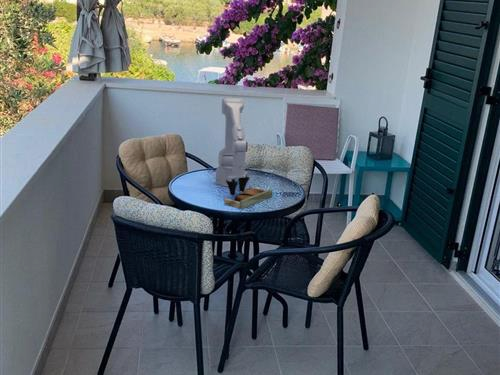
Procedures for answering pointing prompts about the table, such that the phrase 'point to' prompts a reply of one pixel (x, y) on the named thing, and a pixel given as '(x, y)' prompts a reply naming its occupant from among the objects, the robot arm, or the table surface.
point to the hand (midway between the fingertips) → (237, 193)
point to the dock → (250, 199)
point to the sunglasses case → (246, 194)
